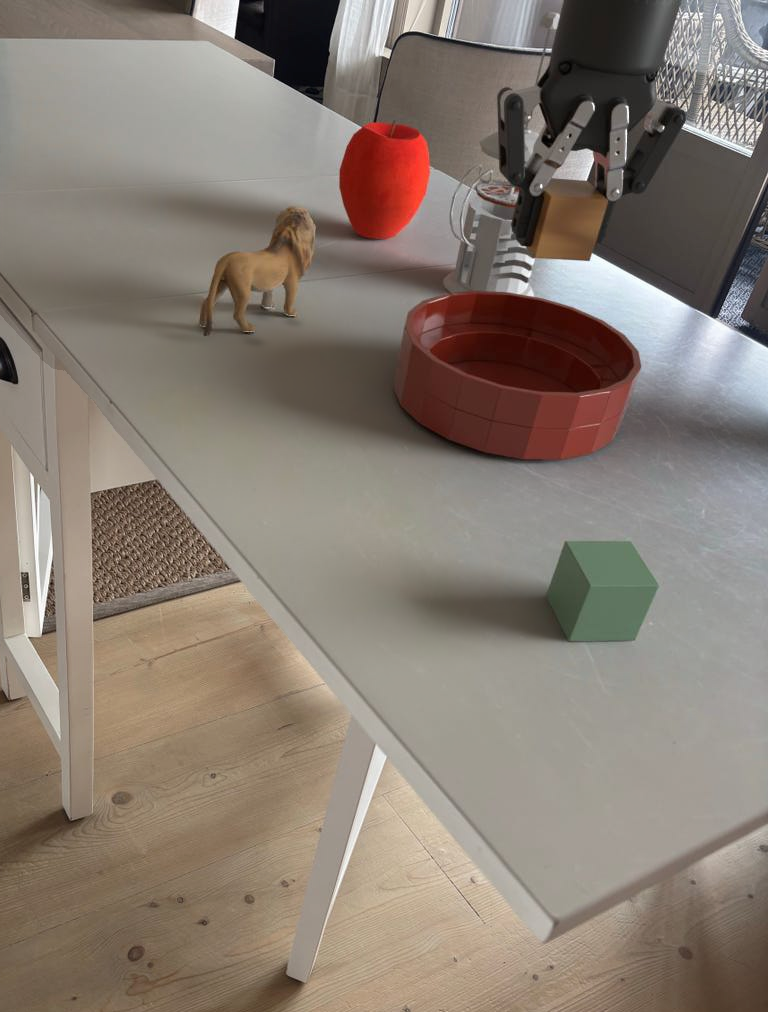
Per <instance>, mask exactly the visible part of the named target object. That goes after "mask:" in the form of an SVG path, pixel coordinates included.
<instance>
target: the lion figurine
mask: <svg viewBox="0 0 768 1012" xmlns="http://www.w3.org/2000/svg"><path fill="white" fill-rule="evenodd" d="M275 222H276V223H275V224H274V229H273V231H272V234H271V235H272V236H271V238H270V242H269V245H268V246H267V247H265V248H263V249H260V250H257V251H252V252H246V251H232V252H228V253H226V254H225V255H223V256H222V257H221V258H219V260H217V262H216V264H215V267H214V272H213V275H212V278H211V281H210V287H209V290H208V294H207V296H206V298H205V299H204V300H203V301H202V303H201V305H200V313H199V319H198V325H199V326H200V325H201V326H205V327H206V328H204V331H203V333H202V336H203V337H209V336H210V335H211V334H212V331H213V326H212V324H213V325H214V322H213V315H214V314H213V312H214V305H215V304H216V303H217V302H218V301H219V300H220V299H221V298H222V297H223V295H224V294H225V293H226V291H227V290H229V293H230V296H231V298H232V301H233V304H234V311H233V315H232V319H233V320H234V322H236V324H237V325H238V328H239V329H240V331H242V332H243V331H249V332H250V331H254V330H255V331H256V328H255V326H254V325H253V324H252V323H248V322H247V321H246V317H245V312H246V309H247V306H248V303H249V301H250V298H251V294H252V293H251V292H255V293H262V298H261V303H260V306H261V305H263V306H264V307H272V306H273V305H275V303H274V298H273V293H274V290H275V289H276V288H279V287H280V286H281V285H282V286H283V289H284V293H285V298H284V303H283V313H284V312H285V313H286V314H288V315H296V314H297V315H298V311H297V310H296V309H295V308H293V307H294V304H295V301H296V296H297V293H298V289H299V280H301V279H302V277H304V276H305V275H307V273H308V271H309V269H310V266H311V264H312V257H313V254H314V247H315V242H316V234H315V233H316V224H315V222H313V219H312V218H311V216H310V213H309V211H307V210H306V209H304V208H302V207H298V206H297V207H296V206H288V207H286V208H285V210H281V211H280V212H279V213H277V215H276V216H275ZM263 309H264V310H266V309H265V308H263ZM272 309H273V308H271V309H270V310H272ZM285 313H284V314H285ZM285 316H286V317H290V318H296V317H297V316H294V317H292V316H287V315H285ZM201 326H200V327H201ZM255 331H254V332H255Z"/></svg>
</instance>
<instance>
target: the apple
mask: <svg viewBox="0 0 768 1012" xmlns="http://www.w3.org/2000/svg"><path fill="white" fill-rule="evenodd" d="M339 167H340V168H339V177H338V179H339V182H338V183H339V184H338V188H339V192H340V196H341V200H342V204H343V207H344V210H345V213H346V215H347V218H348V220H349V223H350V225H351V227H352V229H353V230H354V232H355V233H356V234H357V235H358V236H360V237H362V238H367V239H377V240H388V239H392V238H394V237H395V236H397V235H398V234H399V233H400V232H401V231H402V230H404V228H406V226H407V225H408V224H409V223H411V220H412V219H413V218H414V216H415V215H416V214H417V212H418V211H419V208H420V207H421V205H422V203H423V201H424V199H425V197H426V194H427V190H428V185H429V181H430V176H431V165H430V155H429V148H428V143H427V140H426V139H425V137H424V136H423V135H422V134H421V132H420V131H419V130H418V129H416V128H414V127H412V126H409V125H406V124H399V123H398V124H397V121H396V120H393V122H392V123H387V122H370V123H366V124H365V125H363V126H362V127H361V128H359V129H358V130H357V131H356V132H354V133H353V135H352V136H351V138H350V140H349V141H348V143H347V145H346V148H345V150H344V154H343V157H342V160H341V164H340V166H339Z"/></svg>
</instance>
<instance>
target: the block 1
mask: <svg viewBox="0 0 768 1012" xmlns="http://www.w3.org/2000/svg"><path fill="white" fill-rule="evenodd" d="M541 195H542V196H543V197H544V201H543V205H542V209H541V212H540V216H539V220H538V224H537V228H536V232H535V235H534V239H533V243H532V245H531V246H530V247H529V246H525V247H526V248H527V249H528V250H529V252H530V253H531V254H532V255H533V257H534V258H535V259H546V260H565V261H580V262H581V261H583V262H590V261H591V258H592V254H593V252H594V250H595V249H594V245H595V242H596V239H597V235H598V232H599V229H600V226H601V222H602V219H603V216H604V212H605V209H606V206H607V203H608V200H607V199H606V198H605V197H604V196H603V195H602V194H601V193H600V192H599V191H597V190H596V187H595V186H593V184H591V183H590V182H589V181H588V180H584V179H569V178H568V179H567V178H553V177H552V178H551V180H550V182H549V184H548V185H547V187H546V189H545V191H544V192H543V193H542V194H541ZM593 249H594V250H593Z"/></svg>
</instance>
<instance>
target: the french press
mask: <svg viewBox="0 0 768 1012" xmlns="http://www.w3.org/2000/svg"><path fill="white" fill-rule="evenodd" d="M559 17H560V13H558V12H555V11H548V12H546V13H544V14H543V15H542V17H541V19H540V21H539V27H542V28H544V29H547V32H546V37H545V41H544V45H543V48H542V53H541V57H540V62H539V67H538V70H537V74H536V80H535V84H534V86H537V84H538V82H539V80H540V76H541V71H542V68H543V62H544V59H545V56H546V55H545V54H546V50H547V46H548V42H549V38H550V34H551V30H557V26H558V21H559ZM529 122H530V121H529ZM529 122H528V123H527V124H525V125H524V136H525V166H526V164H527V162H528V161H529V159H530V157H531V155H532V153H533V146H534V144H535V142H536V140H537V138H538V136H539V134H540V132H537V131H532V130H530V129H529V128H528V126H529ZM479 146H480V149H481V152H482V153H483V154H485V155H486V156H488V157H491V158H493V159H495V160H498V161H499V142H498V131H496V132H494V133H492V134H490V135H488V136H486V137H484V138H483V139H482V140H480V141H479ZM477 168H479V171H478V177H477V178H476V179H475V181H474V182H473V184H472V185H471V187H469V189H468V191H467V193H466V196H465V197H464V200H463V203H462V207H461V211H460V216H459V230H460V236H459V235H457V233H456V231H455V230H454V222H453V213H454V207H455V200H456V197H457V195H458V194H459V193H458V192H459V190H460V188H461V186H462V185H463V183H464V182H465V180H466V179H467V177H468V176H469V175H470V173H472V172H473V171H475V170H476V169H477ZM482 172H483V165H482V164H479V163H477V164H476V165H475V166H473V167H472V168H470V169H469V170H468V171H466V173H465V174H464V175H463V177H462V178H461V180H460V181H459V183H458V185H457V187H456V188H455V191H454V194H453V196H452V199H451V204H450V210H449V226H450V230H451V233H452V234H453V236H454V238H456V239H457V240H458V241H459V242H460V244H459V249H458V253H457V258H456V263H455V268H454V270H452V271H451V272H450V273H448V274H447V275H446V276H445V277H444V278H443V279H442V282H443V287H444V288H445V289H446V290H447V291H448V293H455V292H464V291H493V292H509V293H515V294H521V295H527V296H533V297H536V296H535V292H534V291H533V288H532V287H531V285H530V280H529V278H530V277H531V276H532V272H533V267H532V266H534V264H535V261H536V258H534V257H533V255H532V254H531V253H530V252H529V250H528V249H527V248H526V247H525V246H521V245H520V244H519V242H518V241H517V240H516V236H515V234H514V233H513V232H512V228H511V222H512V218H513V214H514V211H515V206H516V202H517V198H518V194H519V187H518V186H515V185H512V184H511V183H510V182H509V181H508V180H502V179H501V180H500V179H498V180H497V179H496V180H493V177H494V169H487V170H485V171H484V172H483V173H482ZM489 173H490V175H489V178H488V180H486V179H484V178H483V177H485V176H486V175H488V174H489ZM479 181H480V183H479ZM474 188H475V192H476V196H475V197H473V198H472V199H470V200H469V198H470V195H471V193H472V191H473V189H474ZM468 200H469V201H468ZM467 202H468V206H467V211H466V216H465V220H464V221H463V219H464V213H465V210H466V205H467ZM474 208H478V209H482V210H484V211H485V212H487V213H488V214H490V215H491V216H488V215H487V214H483V213H480V214H479V213H476V212H477V211H476V209H474ZM493 216H494V217H493ZM496 217H497V218H496ZM463 222H464V223H463ZM474 222H478V224H477V226H474ZM472 234H475V238H471V235H472ZM508 235H510V238H504V236H508ZM501 237H503V238H501ZM469 247H470V248H472V250H468V249H469ZM505 249H507V250H505Z"/></svg>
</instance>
